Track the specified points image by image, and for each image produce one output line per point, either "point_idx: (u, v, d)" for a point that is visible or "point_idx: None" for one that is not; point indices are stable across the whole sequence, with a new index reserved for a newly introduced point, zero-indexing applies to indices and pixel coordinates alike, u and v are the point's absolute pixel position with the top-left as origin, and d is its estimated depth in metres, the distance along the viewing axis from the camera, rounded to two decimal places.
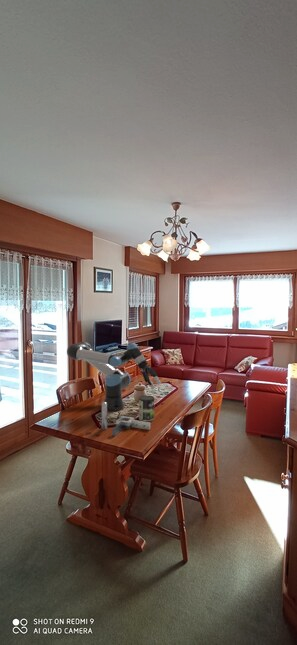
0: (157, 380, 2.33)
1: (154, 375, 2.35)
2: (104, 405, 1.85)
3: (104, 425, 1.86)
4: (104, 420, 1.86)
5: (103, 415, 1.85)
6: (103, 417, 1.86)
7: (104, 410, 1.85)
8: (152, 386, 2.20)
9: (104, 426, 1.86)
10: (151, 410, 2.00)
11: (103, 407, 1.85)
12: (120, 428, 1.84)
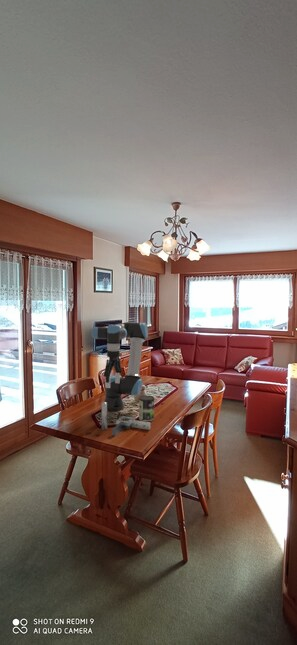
0: (117, 378, 1.93)
1: None
2: (104, 405, 1.85)
3: (104, 425, 1.86)
4: (104, 420, 1.86)
5: (103, 415, 1.85)
6: (103, 417, 1.86)
7: (104, 410, 1.85)
8: (107, 384, 1.80)
9: (104, 426, 1.86)
10: (151, 410, 2.00)
11: (103, 407, 1.85)
12: (120, 428, 1.84)
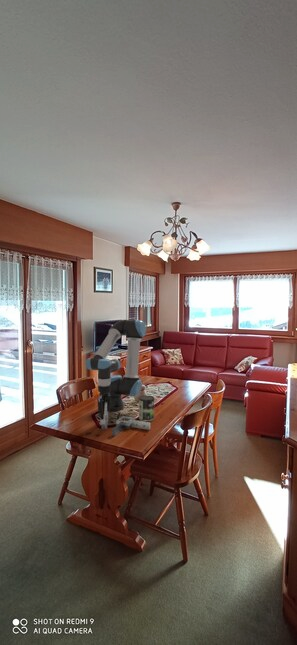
0: None
1: None
2: None
3: (104, 425, 1.86)
4: None
5: None
6: None
7: None
8: (102, 421, 1.85)
9: (104, 426, 1.86)
10: (151, 410, 2.00)
11: None
12: (120, 428, 1.84)
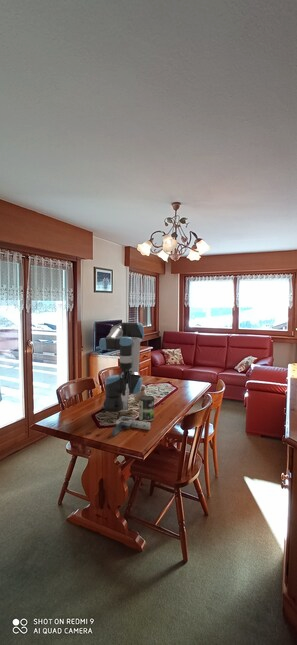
0: None
1: None
2: None
3: (125, 406, 1.90)
4: (125, 401, 1.90)
5: None
6: None
7: None
8: (124, 397, 1.89)
9: (125, 407, 1.90)
10: (151, 410, 2.00)
11: None
12: (120, 428, 1.84)
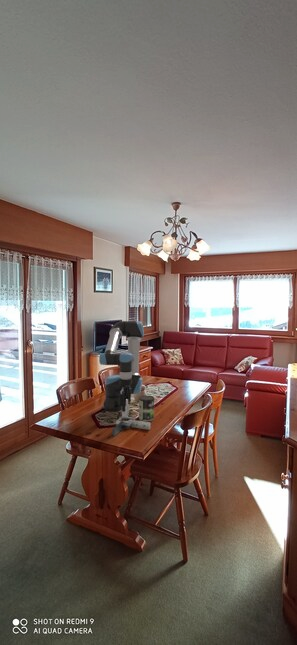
0: None
1: None
2: None
3: None
4: None
5: None
6: None
7: None
8: (124, 413, 1.90)
9: None
10: (151, 410, 2.00)
11: None
12: (120, 428, 1.84)
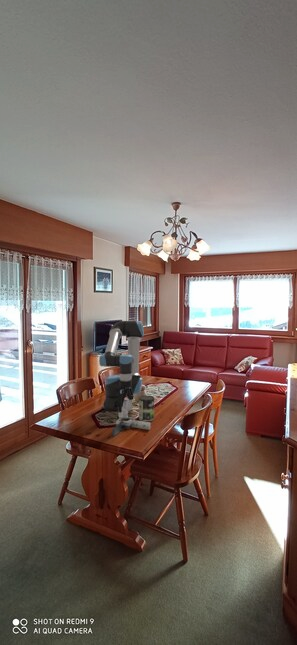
0: (129, 405, 1.98)
1: None
2: (125, 403, 1.90)
3: None
4: (125, 417, 1.91)
5: (124, 412, 1.90)
6: (124, 414, 1.90)
7: (125, 407, 1.90)
8: (120, 414, 1.85)
9: None
10: (151, 410, 2.00)
11: (124, 405, 1.90)
12: (120, 428, 1.84)
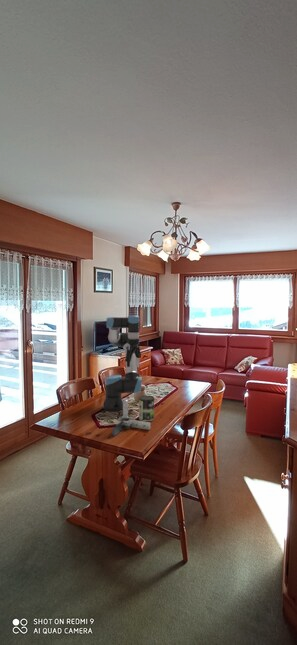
0: (137, 362, 2.16)
1: (137, 356, 2.17)
2: (125, 403, 1.90)
3: None
4: (125, 417, 1.91)
5: (124, 412, 1.90)
6: (124, 414, 1.90)
7: (125, 407, 1.90)
8: (128, 368, 2.04)
9: None
10: (151, 410, 2.00)
11: (124, 404, 1.90)
12: (120, 428, 1.84)
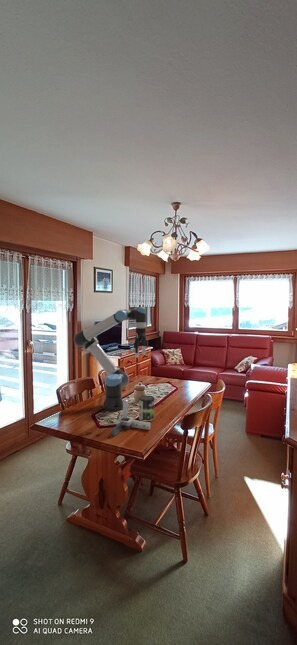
0: (143, 350, 2.38)
1: None
2: (125, 403, 1.90)
3: None
4: (125, 417, 1.91)
5: (124, 412, 1.90)
6: (124, 414, 1.90)
7: (125, 407, 1.90)
8: (137, 354, 2.25)
9: None
10: (151, 410, 2.00)
11: (124, 404, 1.90)
12: (120, 428, 1.84)
